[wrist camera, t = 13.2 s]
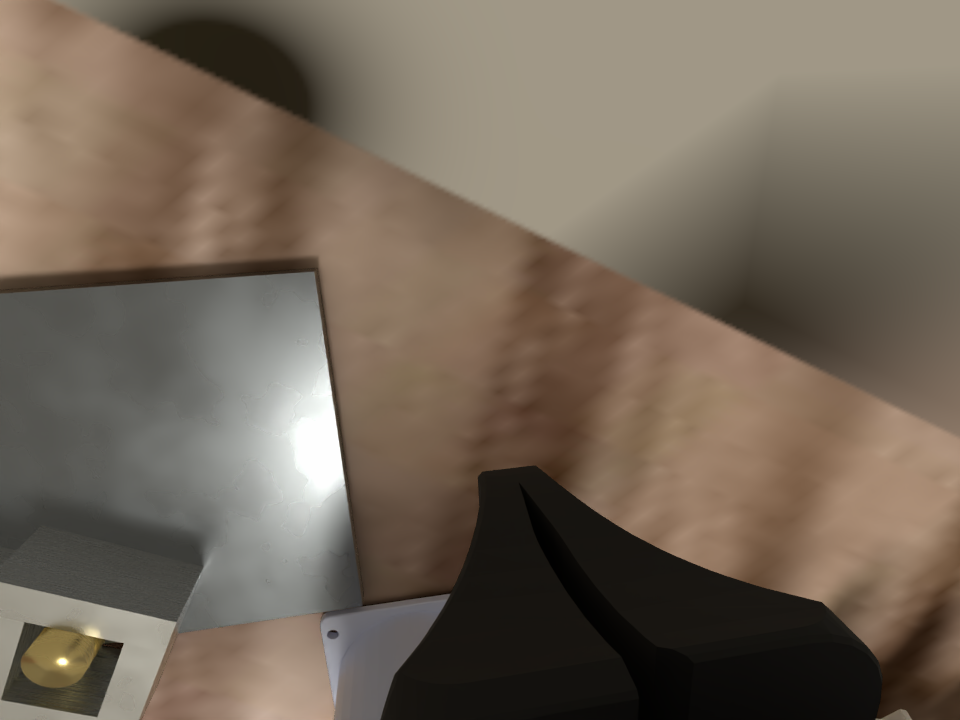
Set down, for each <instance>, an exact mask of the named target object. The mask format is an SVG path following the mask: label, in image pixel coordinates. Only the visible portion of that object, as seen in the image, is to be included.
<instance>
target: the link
mask: <svg viewBox="0 0 960 720" xmlns="http://www.w3.org/2000/svg"><path fill="white" fill-rule="evenodd" d="M202 570H203V566H199V565H195V564H191V563H187V562H183V561H179V560H175V559H171V558H168V557H164V556H160V555H156V554H152V553H148V552H144V551H140V550H136V549H133V548H129V547H125V546H121V545H117V544H113V543H109V542H105V541H101V540H98V539H94V538H90V537H86V536H82V535H78V534H74V533H70V532H66V531H63V530H59V529H55V528H51V527H47V526H43V525H42V526H41V527H40V528H39V529H38V530H37V531H36V532H35V533H34V534H33V535H32V536H31V537H30V538H29V539H28V540H27V541H26V542H24V543H23V544H22V545H21V546H20V547H19V548H18V549H17V550H12V549H8V548H4V547H0V720H142V718H143V716H144V714H145V711H146V709H147V707H148V705H149V703H150V701H151V699H152V696H153V694H154V692H155V690H156V688H157V686H158V684H159V681H160V678H161V676H162V673H163V671H164V668H165V665H166V663H167V660H168V658H169V655H170V653H171V650H172V647H173V645H174V642H175V640H176V637H177V634H178V632H179V629H180V627H181V624H182V622H183V619H184V616H185V614H186V611H187V609H188V606H189V604H190V601H191V598H192V596H193V593H194V591H195V588H196V585H197V583H198V580H199V578H200V575H201V573H202ZM45 627H50V628H54V629H59V630H64V631H68V632H73V633H78V634H83V635H87V636H92V637H97V638H101V639H106V640H111V641H115V642H120V643H124V645H123V648H122V650H121V649H117V648H112V647H107V646H102V647H101V648H100V650H99V651H98V653H97V655H96V656H95V658H94V659H93V661H92V663H91V664H90V666H89V667H88V669H87V670H86V672H85V674H84V675H83V677H82V678H81V679H80V680H79V681H77V682H76V683H74V684H72V685H70V686H66V687H61V688H50V687H44V686H41V685H38V684H36V683H34V682H32V681H31V680H30V679H28V678H27V677H26V676H25V674H24V673H23V671H22V668H21V659H22V657H23V655H24V653H25V652H26V651H27V649H28V648H29V647H30V646H31V644H32V643H33V642H34V640H35V639H36V638H37V637H38V635H39V634H40V633H41V631H42V630H43V629H44V628H45Z"/></svg>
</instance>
